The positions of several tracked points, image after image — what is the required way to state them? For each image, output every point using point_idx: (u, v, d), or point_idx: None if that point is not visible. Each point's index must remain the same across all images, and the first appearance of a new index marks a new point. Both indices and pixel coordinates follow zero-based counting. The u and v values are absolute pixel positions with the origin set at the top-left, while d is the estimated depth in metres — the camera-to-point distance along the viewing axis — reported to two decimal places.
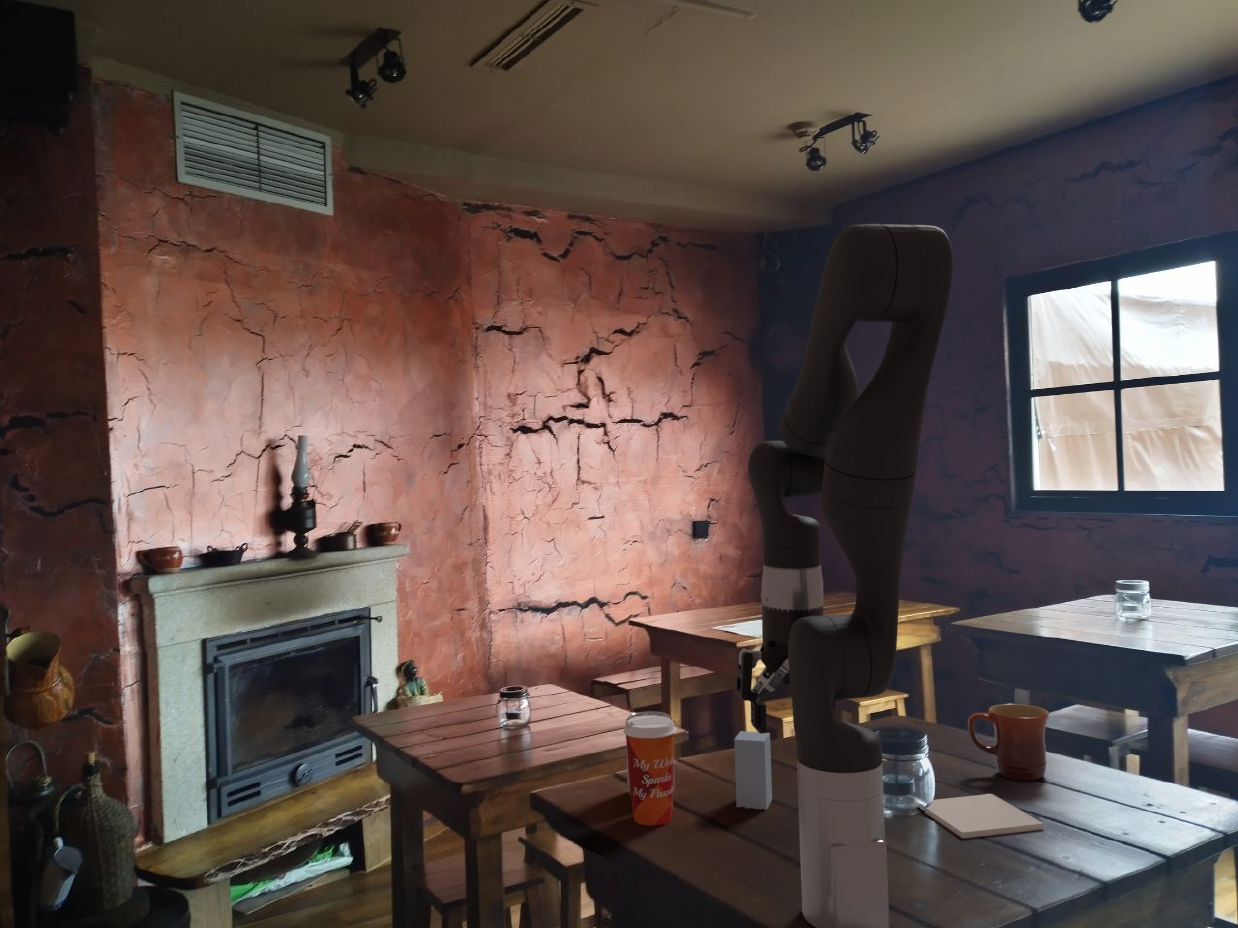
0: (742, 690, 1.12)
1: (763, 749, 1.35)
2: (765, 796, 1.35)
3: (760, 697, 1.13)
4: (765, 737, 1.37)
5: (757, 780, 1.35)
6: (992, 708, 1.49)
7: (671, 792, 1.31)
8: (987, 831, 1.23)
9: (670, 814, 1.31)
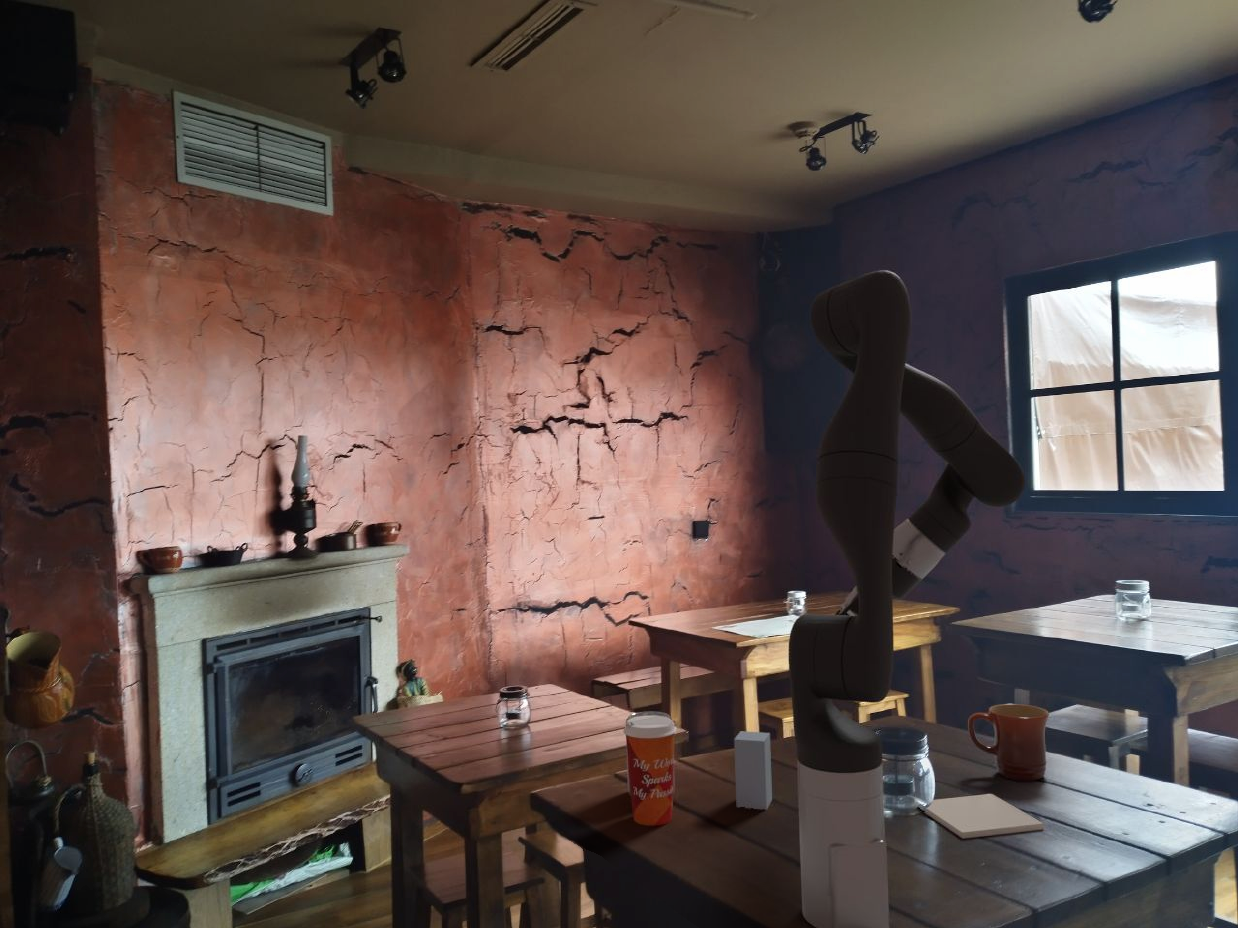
0: None
1: (763, 749, 1.35)
2: (765, 796, 1.35)
3: None
4: (765, 737, 1.37)
5: (757, 780, 1.35)
6: (992, 708, 1.49)
7: (671, 792, 1.31)
8: (987, 831, 1.23)
9: (670, 814, 1.31)
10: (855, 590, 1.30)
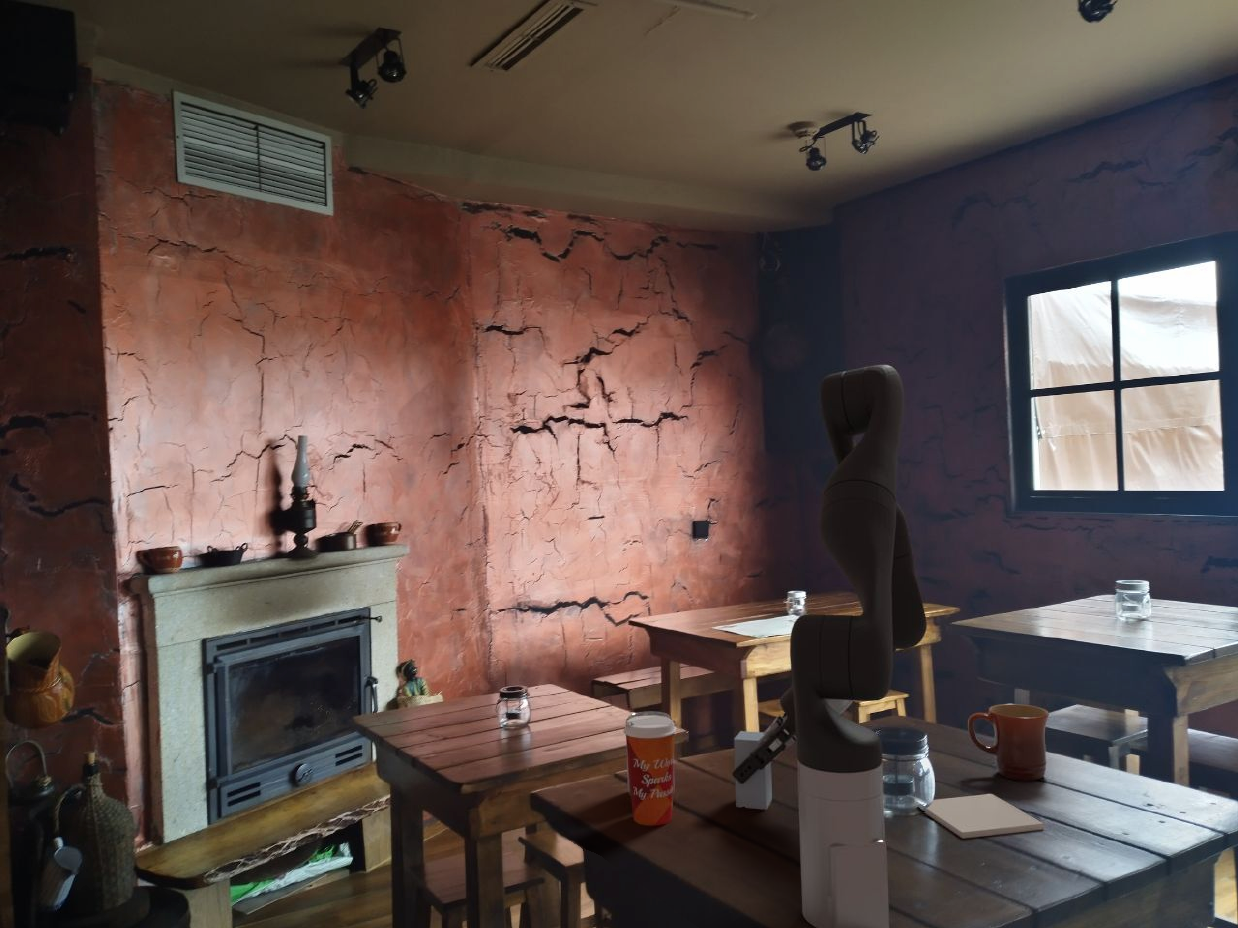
0: None
1: None
2: (765, 796, 1.35)
3: None
4: None
5: (757, 780, 1.35)
6: (992, 708, 1.49)
7: (671, 792, 1.31)
8: (987, 831, 1.23)
9: (670, 814, 1.31)
10: (770, 728, 1.35)
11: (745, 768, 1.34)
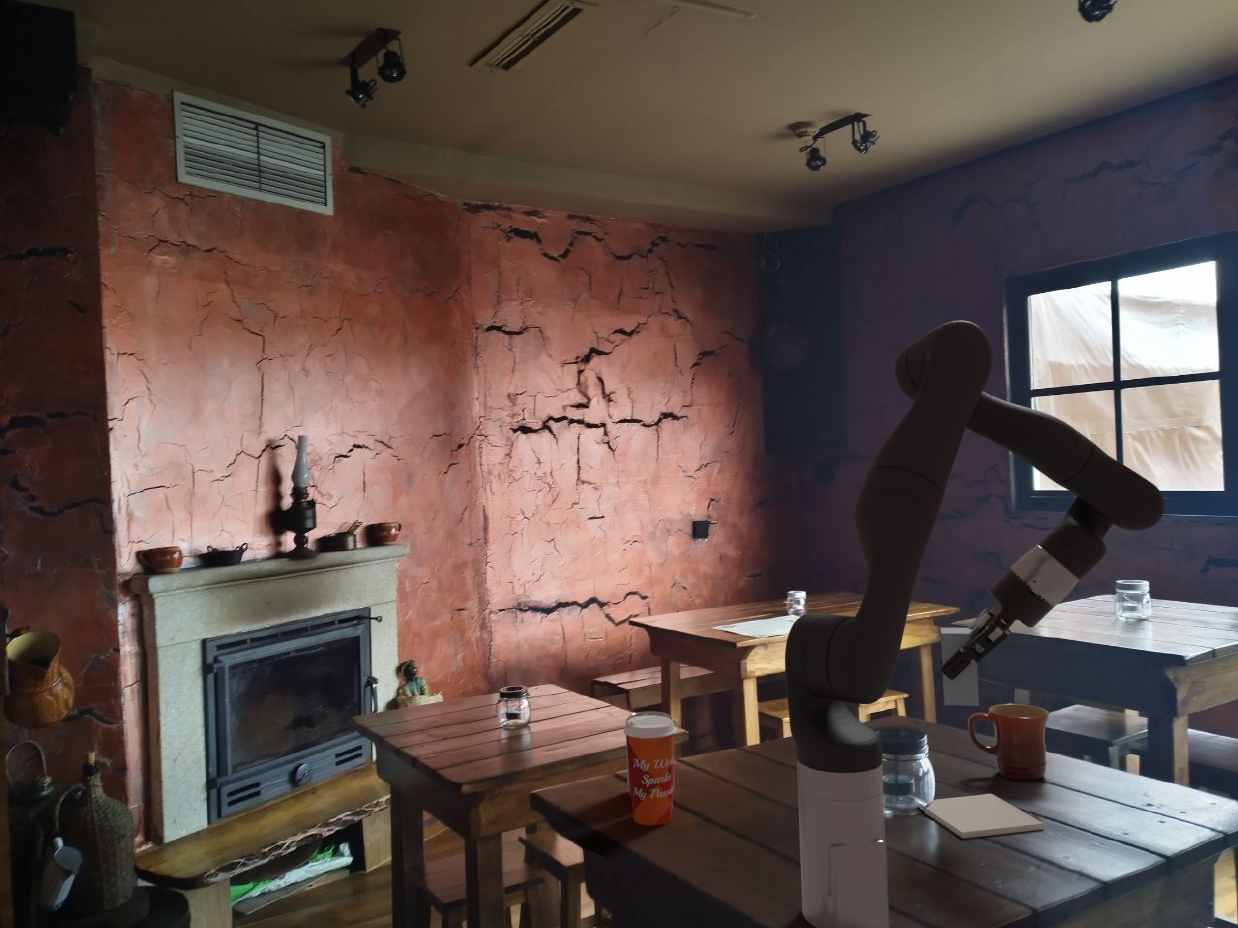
0: None
1: None
2: (977, 692, 1.27)
3: None
4: None
5: (968, 675, 1.28)
6: (992, 708, 1.49)
7: (671, 792, 1.31)
8: (987, 831, 1.23)
9: (670, 814, 1.31)
10: (982, 619, 1.27)
11: (957, 662, 1.27)
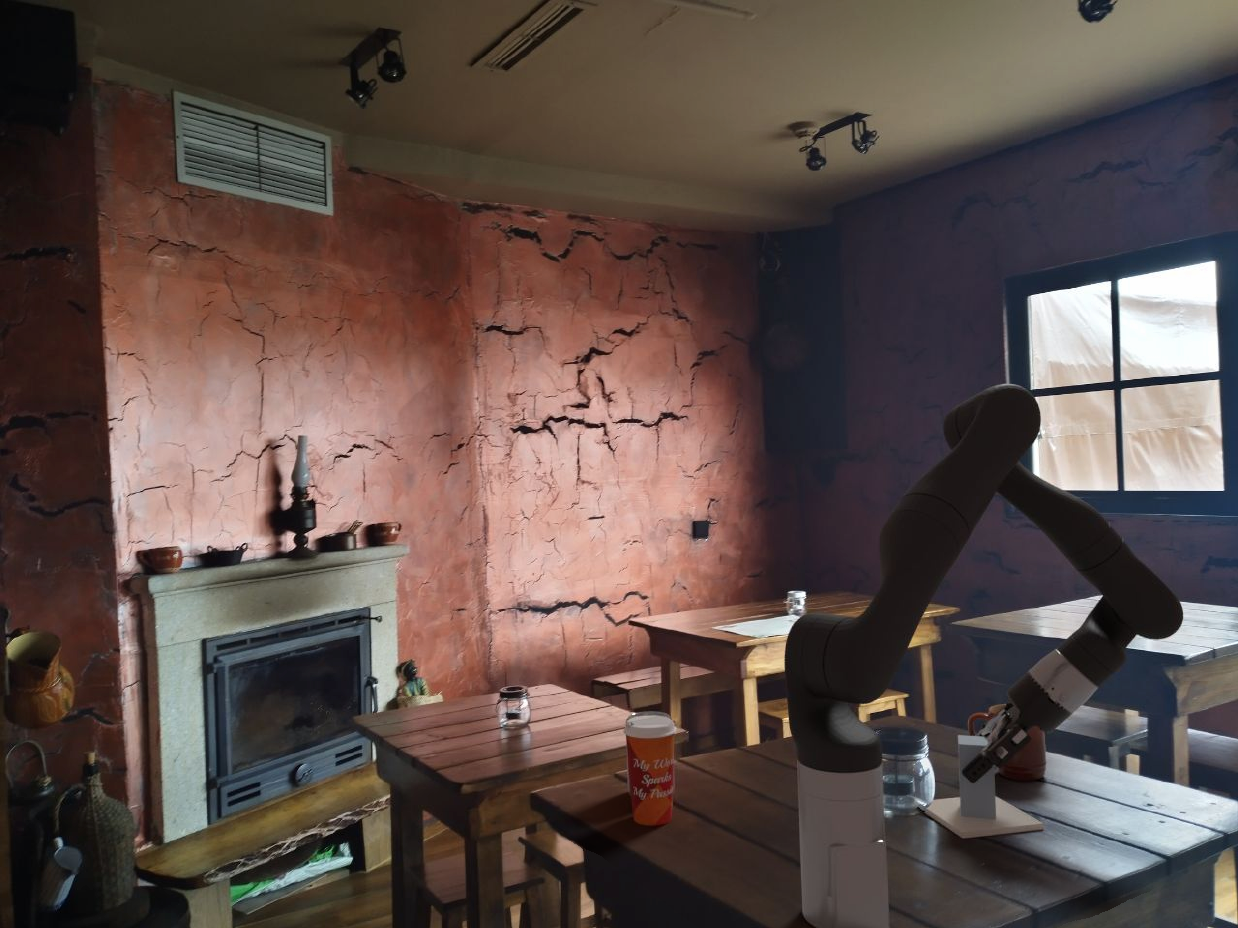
0: None
1: None
2: (994, 805, 1.26)
3: (982, 729, 1.33)
4: None
5: (985, 788, 1.27)
6: (992, 708, 1.49)
7: (671, 792, 1.31)
8: (987, 831, 1.23)
9: (670, 814, 1.31)
10: (1001, 722, 1.26)
11: (978, 766, 1.24)
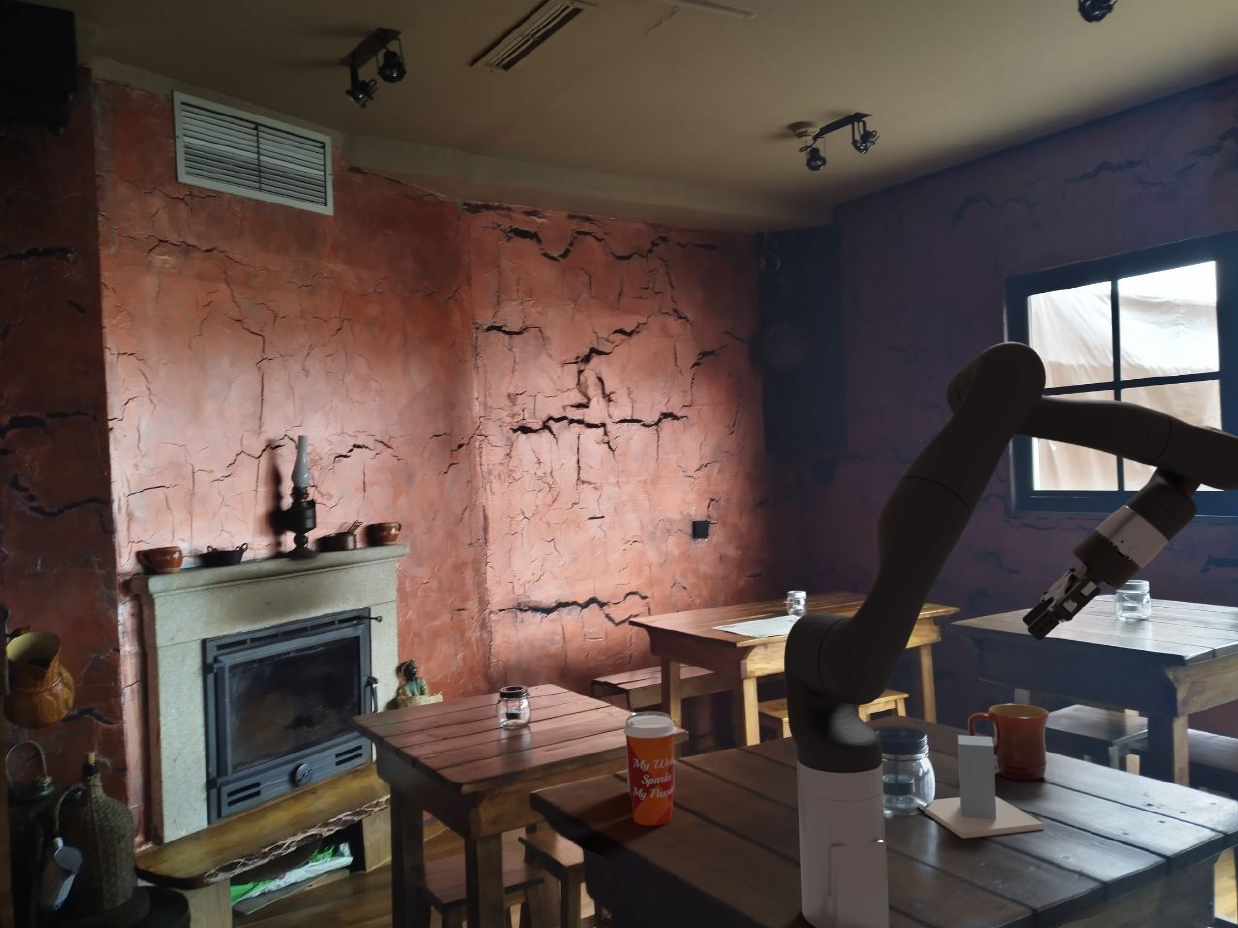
0: None
1: (992, 754, 1.26)
2: (994, 805, 1.26)
3: (1044, 595, 1.31)
4: (990, 742, 1.28)
5: (985, 788, 1.27)
6: (992, 708, 1.49)
7: (671, 792, 1.31)
8: (987, 831, 1.23)
9: (670, 814, 1.31)
10: (1068, 580, 1.24)
11: (1045, 622, 1.22)
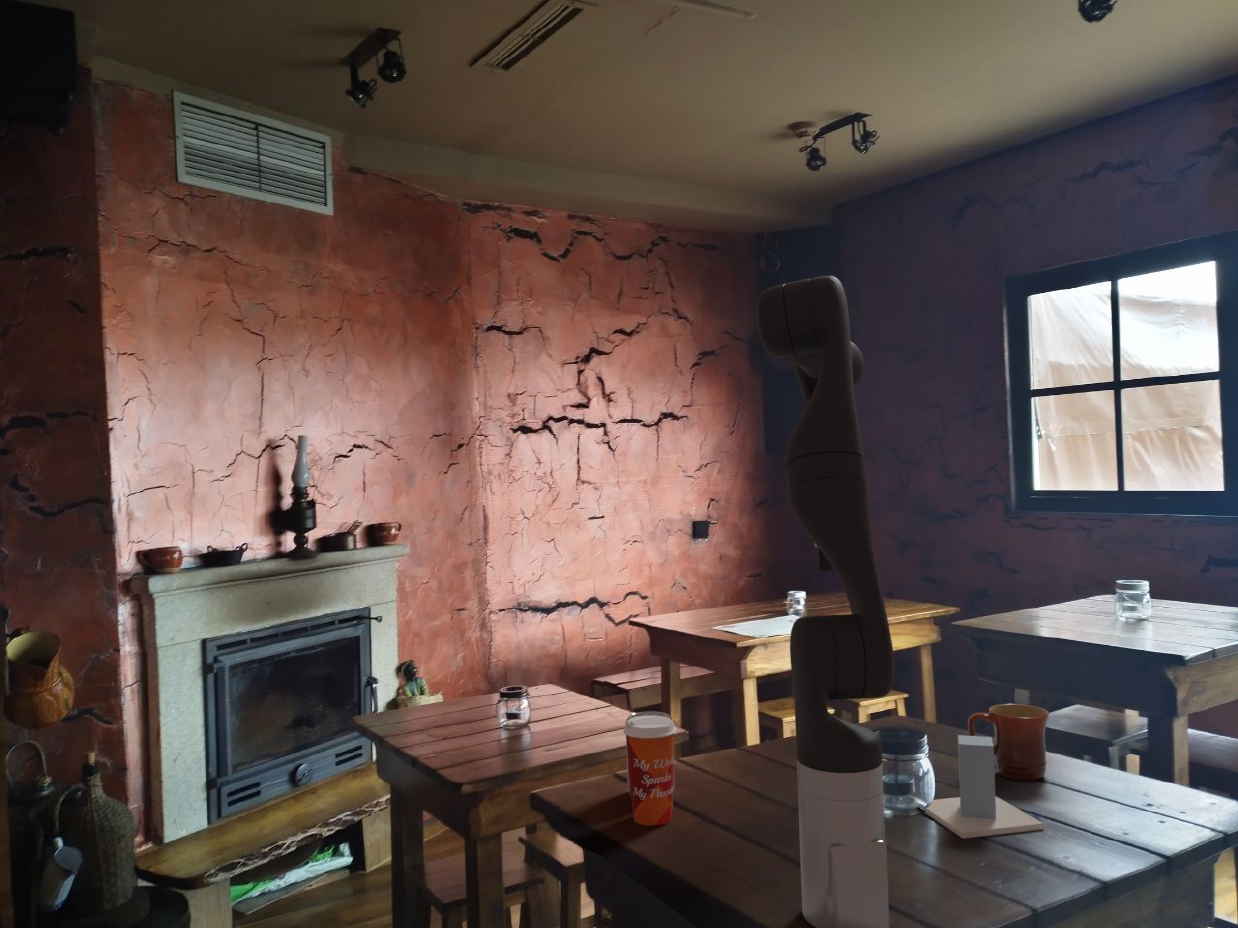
0: None
1: (992, 754, 1.26)
2: (994, 805, 1.26)
3: None
4: (990, 742, 1.28)
5: (985, 788, 1.27)
6: (992, 708, 1.49)
7: (671, 792, 1.31)
8: (987, 831, 1.23)
9: (670, 814, 1.31)
10: None
11: None
